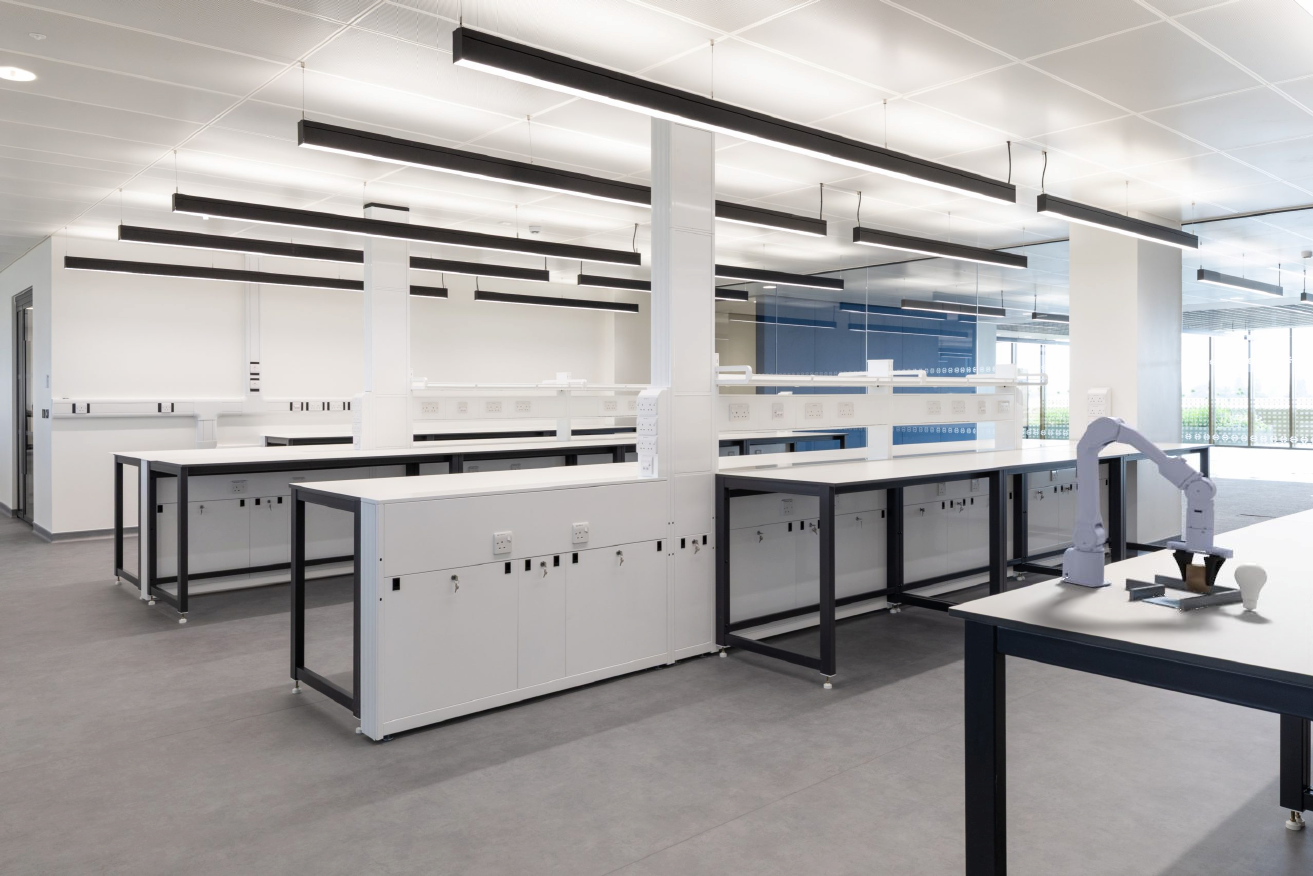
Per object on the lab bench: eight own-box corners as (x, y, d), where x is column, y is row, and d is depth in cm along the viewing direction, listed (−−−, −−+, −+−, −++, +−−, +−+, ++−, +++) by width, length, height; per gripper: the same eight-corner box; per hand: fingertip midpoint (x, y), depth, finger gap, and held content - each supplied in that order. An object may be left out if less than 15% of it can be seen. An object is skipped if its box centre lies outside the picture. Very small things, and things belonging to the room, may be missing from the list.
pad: (1141, 601, 203) (1142, 599, 203) (1162, 597, 206) (1162, 596, 206) (1175, 608, 196) (1175, 606, 196) (1196, 604, 199) (1196, 603, 199)
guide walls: (1096, 592, 212) (1097, 582, 212) (1156, 583, 223) (1157, 574, 223) (1184, 610, 193) (1184, 600, 193) (1244, 600, 204) (1245, 590, 204)
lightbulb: (1227, 609, 195) (1228, 561, 195) (1243, 606, 198) (1245, 559, 197) (1255, 614, 190) (1257, 566, 189) (1272, 612, 192) (1273, 564, 192)
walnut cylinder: (1181, 589, 207) (1182, 564, 207) (1193, 587, 210) (1194, 563, 210) (1202, 593, 203) (1203, 568, 203) (1214, 591, 205) (1215, 566, 205)
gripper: (1241, 530, 201) (1239, 587, 202) (1179, 523, 214) (1177, 576, 215) (1224, 532, 198) (1222, 590, 199) (1162, 524, 211) (1160, 579, 211)
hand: (1198, 583), depth 206 cm, fingers closed on walnut cylinder, 5 cm apart
